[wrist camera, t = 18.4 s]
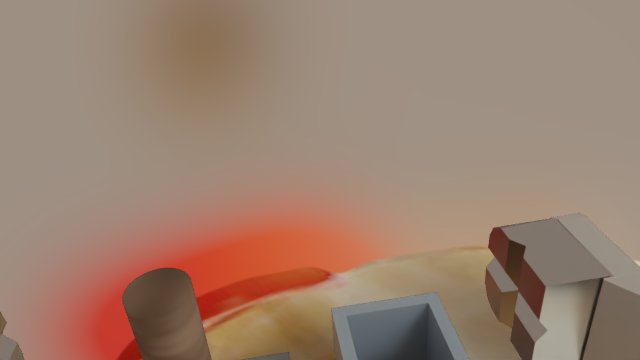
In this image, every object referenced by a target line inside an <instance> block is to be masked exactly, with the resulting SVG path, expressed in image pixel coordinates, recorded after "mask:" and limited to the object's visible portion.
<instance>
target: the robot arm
mask: <svg viewBox="0 0 640 360" xmlns="http://www.w3.org/2000/svg"><path fill="white" fill-rule="evenodd" d="M488 247H489V249H490V250H491V252H492V253H493V255H494V256H495V257H494V259H493V260H492V261H491V262H490V263H489V265H488V266H487V267H486V277H485V285H486V291H487V296H488V300H489V302H490V305H491V308H492V310H493V312H494V313H495V315H496V317H497V319H498V320H499V321H500V322H502V323H504V324H506V325H507V326H509V327H511V328H512V334H511V342H512V344H513V345H514V347H515V349H516V350H517V352H518V353H519V355H520V357H521V358H522V360H640V267H639V266H638V265H637V264H636V263H635V262H634V261H633V260H632V259H631V258H630V257H629V256H628V255H627V254H626V253H625V252H624V251H623V250H622V249H620V248H619V247H618V246H617V245H616V244H615V243H614V242H613V241H612V240H611V239H610V238H609V237H608V236H607V235H606V234H604V232H602V230H601V229H599V228H598V227H597V226H596V225H595V224H594V223H593V222H592V221H591V220H590V219H589V218H588V217H587V216H585V215H583V214H580V213H575V214H569V215H563V216H557V217H552V218H550V219H545V220H538V221H533V222H526V223H520V224H513V225H507V226H501V227H495V228H493V230H492V232H491V234H490V238H489V246H488ZM6 323H7V322H6V321H5V319H4V317H3V316H2V314H1V312H0V360H24V357H23V353H22V351H21V349H20V347H19V345H18V343H17V342H15V341H13V340H12V339H10V338H8V337H6V336H4V335H3V334H2V333H3V330H4V327H5V325H6Z"/></svg>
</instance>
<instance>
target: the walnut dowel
mask: <svg viewBox="0 0 640 360" xmlns="http://www.w3.org/2000/svg"><path fill="white" fill-rule="evenodd" d="M122 301H123V305H124V307H125V310H126V313H127V316H128V319H129V322H130V325H131V327H132V330H133V333H134V336H135V339H136V342H137V344H138V347H139V350H140V353H141V356H142V358H143V360H212V359H211V355H210V351H209V347H208V344H207V340H206V336H205V332H204V328H203V324H202V320H201V316H200V312H199V309H198V305H197V301H196V297H195V293H194V289H193V285H192V282H191V278H190V276H189V275H188V274H187V273H186V272H184V271H182V270H180V269H175V268H161V269H156V270H153V271H150V272H147V273H145V274H143V275H141V276H139V277H138V278H136V279H135V280H134V281H132V283H130V284H129V285H128V287H127V288H126V290H125V291H124V294H123V300H122Z"/></svg>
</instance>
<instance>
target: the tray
mask: <svg viewBox="0 0 640 360" xmlns="http://www.w3.org/2000/svg"><path fill="white" fill-rule="evenodd" d="M242 360H290V358H289V352H286V353H279V354H273V355H267V356H261V357H255V358H248V359H242Z"/></svg>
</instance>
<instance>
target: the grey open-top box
mask: <svg viewBox="0 0 640 360" xmlns="http://www.w3.org/2000/svg"><path fill="white" fill-rule="evenodd" d="M331 312H332V326H333V339H334V353H335V360H470V359H469V357H468V355H467V353H466V351H465V349H464V347H463V345H462V343H461V341H460V339H459V337H458V335H457V333H456V331H455V329H454V327H453V325H452V322H451V320H450V318H449V316H448V314H447V312H446V310H445V308H444V306H443V304H442V302H441V300H440V298H439V296H438V294H437V292H435V293H428V294H422V295H415V296H409V297H402V298H396V299H389V300H383V301H377V302H370V303H364V304H357V305H351V306H344V307H338V308H331Z"/></svg>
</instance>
